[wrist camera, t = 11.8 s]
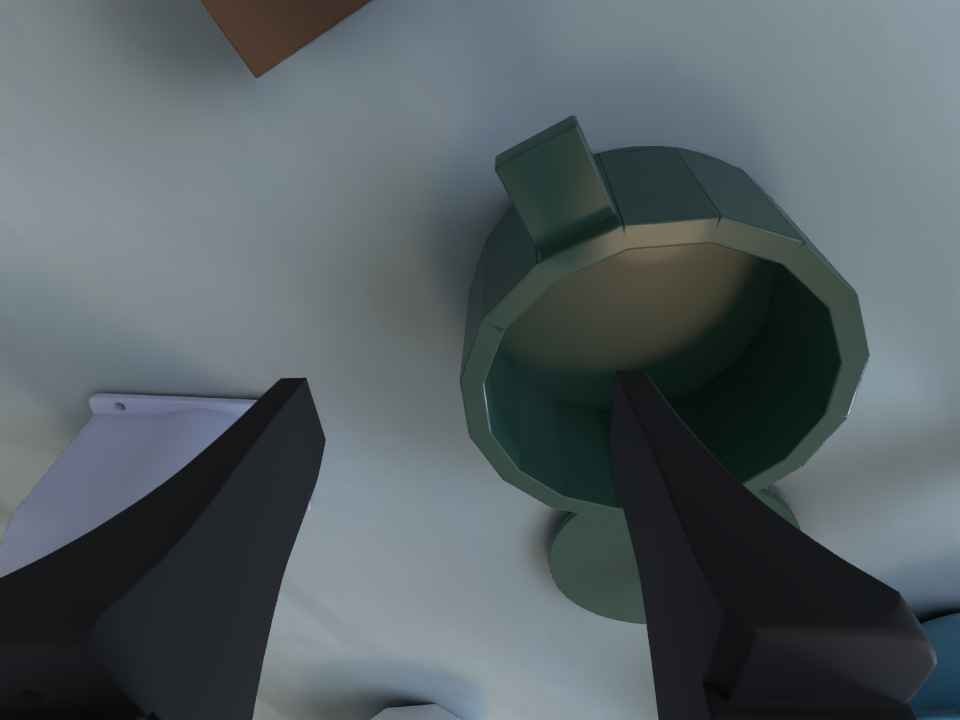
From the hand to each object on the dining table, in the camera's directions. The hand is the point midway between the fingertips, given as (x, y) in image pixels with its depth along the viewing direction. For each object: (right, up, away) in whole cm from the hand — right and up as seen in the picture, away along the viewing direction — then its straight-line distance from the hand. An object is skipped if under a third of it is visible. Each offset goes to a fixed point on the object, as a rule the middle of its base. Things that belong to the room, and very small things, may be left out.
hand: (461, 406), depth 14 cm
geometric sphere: (-4, -28, +36) cm, 46 cm away
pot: (+6, +3, +10) cm, 12 cm away
